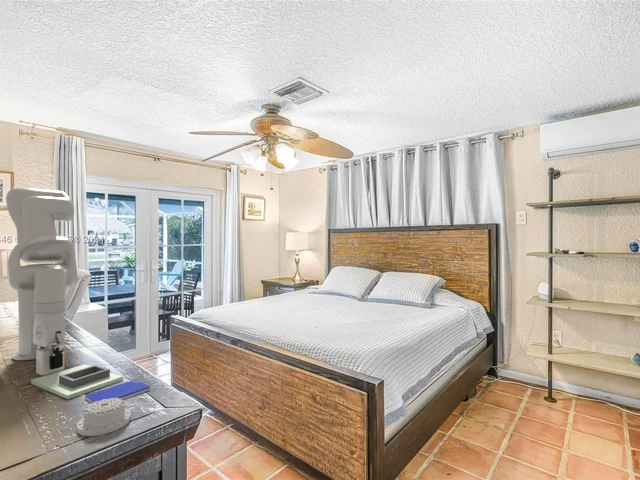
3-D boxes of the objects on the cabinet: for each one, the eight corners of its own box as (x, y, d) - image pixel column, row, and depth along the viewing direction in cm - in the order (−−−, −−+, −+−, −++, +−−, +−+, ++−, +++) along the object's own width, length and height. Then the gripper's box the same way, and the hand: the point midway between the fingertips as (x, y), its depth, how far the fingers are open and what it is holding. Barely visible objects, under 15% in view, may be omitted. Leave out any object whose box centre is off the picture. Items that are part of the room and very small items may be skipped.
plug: (36, 373, 105) (36, 349, 105) (60, 366, 110) (60, 344, 110) (42, 375, 103) (42, 351, 103) (67, 368, 108) (67, 346, 108)
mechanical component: (64, 434, 72) (105, 440, 70) (64, 413, 72) (105, 418, 70) (103, 411, 82) (140, 415, 80) (103, 392, 82) (140, 396, 80)
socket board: (31, 383, 97) (31, 372, 97) (85, 367, 109) (85, 357, 109) (67, 399, 87) (67, 387, 87) (122, 379, 99) (122, 369, 99)
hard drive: (134, 378, 98) (84, 394, 88) (149, 386, 93) (98, 403, 83) (134, 384, 98) (84, 400, 88) (149, 391, 93) (98, 410, 83)
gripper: (22, 306, 107) (22, 364, 107) (49, 312, 99) (49, 375, 99) (50, 303, 114) (50, 357, 114) (78, 308, 105) (78, 367, 105)
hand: (50, 365), depth 106 cm, fingers open, 6 cm apart
